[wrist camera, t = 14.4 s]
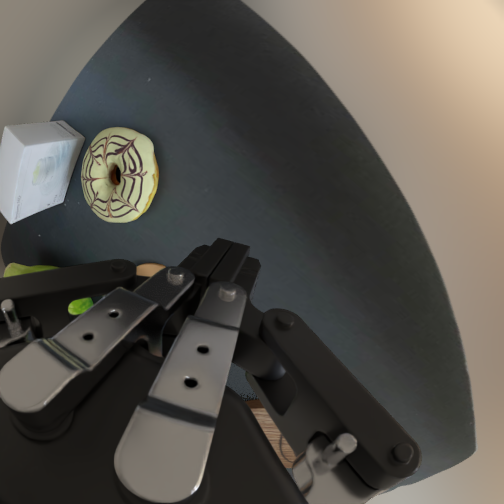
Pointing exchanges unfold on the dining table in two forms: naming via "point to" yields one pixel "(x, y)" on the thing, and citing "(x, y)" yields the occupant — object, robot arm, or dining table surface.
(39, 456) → the robot arm
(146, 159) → the decorated donut
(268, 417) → the trivet
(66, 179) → the cosmetics box
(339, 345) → the dining table surface
